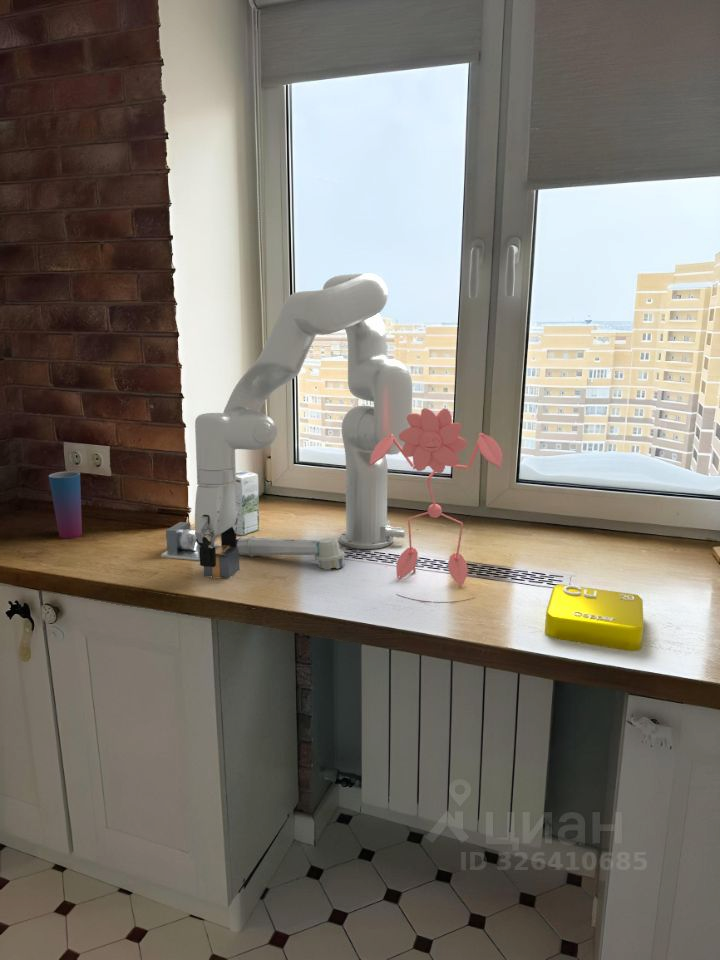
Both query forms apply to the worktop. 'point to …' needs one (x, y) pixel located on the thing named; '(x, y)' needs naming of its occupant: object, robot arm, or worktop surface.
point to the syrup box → (247, 502)
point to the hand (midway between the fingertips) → (218, 558)
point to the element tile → (595, 617)
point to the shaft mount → (182, 542)
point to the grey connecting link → (294, 549)
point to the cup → (67, 502)
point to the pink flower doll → (436, 448)
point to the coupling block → (224, 562)
